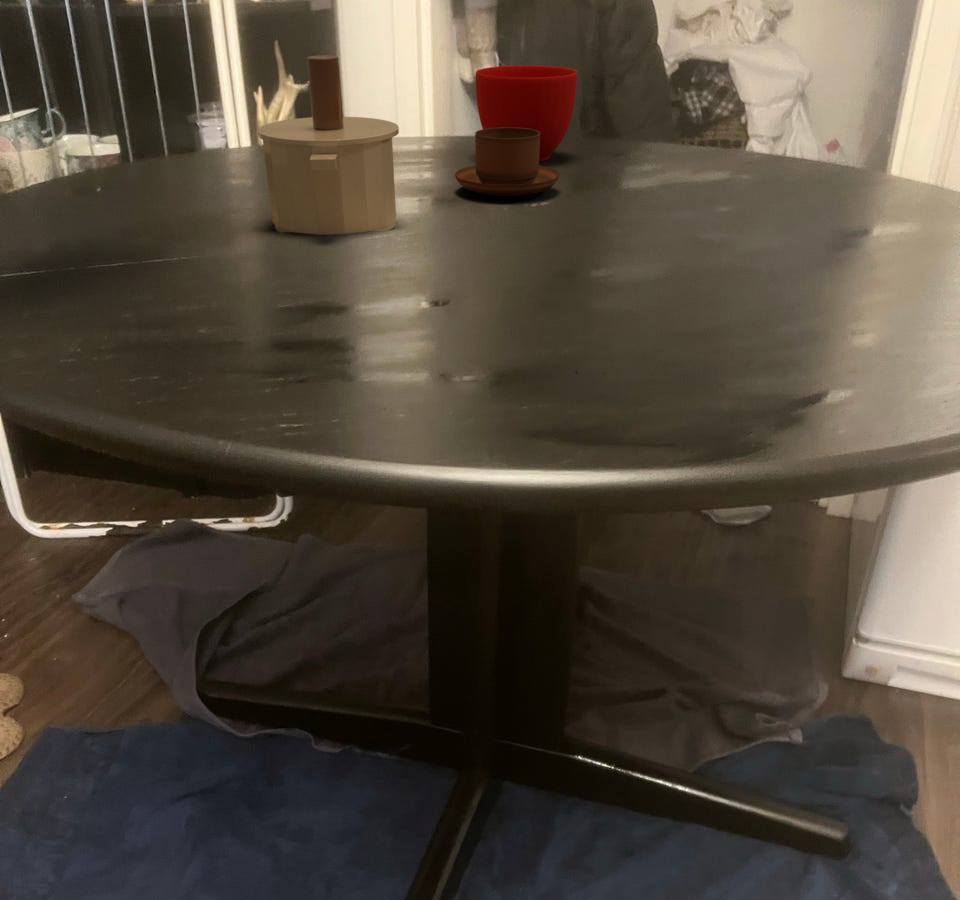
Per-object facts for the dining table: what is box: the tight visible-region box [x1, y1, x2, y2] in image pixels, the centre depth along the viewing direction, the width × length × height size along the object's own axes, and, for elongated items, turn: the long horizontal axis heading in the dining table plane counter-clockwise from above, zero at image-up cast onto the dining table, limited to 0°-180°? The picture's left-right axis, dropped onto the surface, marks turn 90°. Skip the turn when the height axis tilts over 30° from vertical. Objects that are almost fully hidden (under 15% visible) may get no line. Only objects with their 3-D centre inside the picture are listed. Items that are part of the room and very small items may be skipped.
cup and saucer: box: [454, 127, 560, 197], centre depth 112 cm, size 12×12×6 cm
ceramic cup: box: [475, 65, 578, 162], centre depth 128 cm, size 13×17×10 cm
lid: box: [257, 54, 400, 146], centre depth 95 cm, size 14×14×7 cm
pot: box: [262, 137, 397, 236], centre depth 99 cm, size 13×18×8 cm
